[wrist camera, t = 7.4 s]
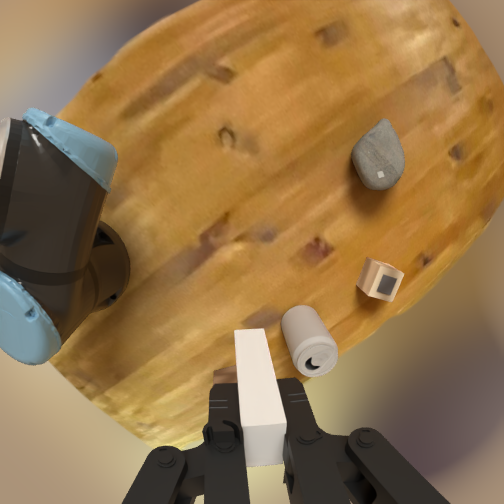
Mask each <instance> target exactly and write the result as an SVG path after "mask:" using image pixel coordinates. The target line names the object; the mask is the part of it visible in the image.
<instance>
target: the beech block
mask: <svg viewBox="0 0 504 504" xmlns="http://www.w3.org/2000/svg"><path fill="white" fill-rule="evenodd" d="M403 276H404V273H402V272H401V271H399V270H397V269H396V268H394V267H393V266H391V265H389V264H386V263H383V262H380V261H377V260H375V259H372V258H369V257H367V258H366V261H365V263H364V266H363V268H362V271H361V273H360V276H359V278H358V281H357V283H356V285H357V286H358V287H359V288H360V289H361V290H362V291H363V292H365V293H366V294H367V295H368V296H371V297H374V298H378V299H382V300H385V301H389V302H392V301H393V299H394V297H395V295H396V292H397V290H398V288H399V285H400V283H401V281H402V278H403Z"/></svg>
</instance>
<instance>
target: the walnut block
mask: <svg viewBox="0 0 504 504" xmlns="http://www.w3.org/2000/svg"><path fill="white" fill-rule="evenodd" d="M218 383H237V368H236V365H234V366H230V367H226V368H223V369H219V370H215V371H214V379H213V386H214V384H218Z"/></svg>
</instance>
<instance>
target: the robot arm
mask: <svg viewBox="0 0 504 504" xmlns="http://www.w3.org/2000/svg"><path fill="white" fill-rule="evenodd" d="M22 118H23V121H20V120H16V119H12V118H5V119H4V120H2V121H1V122H0V348H1V349H2V350H3V351H4V352H5V353H7V354H8V355H9V356H11V357H12V358H14V359H15V360H17V361H19V362H21V363H24V364H27V365H37V364H43V363H45V362H46V361H48V360H49V359H50V358H51V357H52V356H53V355H55V354H56V353H57V352H58V351H59V350H60V349H61V346H62V345H63V344H64V343H65V341H66V340H67V339H68V338H69V337H70V335H71V334H72V333H73V332H74V331H75V330H76V328H77V327H78V326H79V325H80V324H81V323H82V322H83V320H84V319H85V318H86V317H87V316H88V315H89V314H90V313H92V312H96V311H99V310H102V309H105V308H107V307H109V306H111V305H112V304H113V303H114V302H116V301H117V299H118V298H119V297H120V296H121V295H122V293H123V292H124V290H125V288H126V286H127V284H128V281H129V275H130V262H129V257H128V253H127V250H126V248H125V245H124V243H123V242H122V240H121V238H120V237H119V236H118V234H117V233H116V232H115V231H114V230H113V229H112V228H111V227H110V226H108V225H107V224H106V223H104V222H102V221H100V217H101V214H102V211H103V207H104V204H105V201H106V198H107V195H108V193H110V192H111V188H110V185H111V182H112V179H113V175H114V172H115V169H116V166H117V162H118V155H117V152H116V149H115V148H114V147H113V146H112V145H111V144H110V143H108V142H106V141H105V140H103V139H101V138H99V137H97V136H95V135H93V134H91V133H89V132H87V131H85V130H83V129H81V128H79V127H76V126H74V125H72V124H70V123H68V122H66V121H63V120H61V119H58V118H56V117H54V116H52V115H49V114H47V113H46V112H43V111H41V110H38V109H36V108H29V109H28V110H27V112H26V113H24V114H23V117H22ZM234 332H235V350H236V368H237V383H218V384H214V386H213V387H212V389H211V390H210V397H209V420H208V423H207V424H206V425H205V426H204V428H203V431H202V432H203V437H204V442H203V443H202V444H201V445H199V446H198V447H196V448H192V449H188V450H184V451H180V450H179V449H178V448H175V447H173V446H161V447H157V448H155V449H153V450H152V451H151V452H150V453H149V455H148V456H147V458H146V460H145V462H144V464H143V466H142V467H141V469H140V471H139V473H138V475H137V476H136V478H135V480H134V482H133V484H132V486H131V488H130V489H129V491H128V493H127V495H126V497H125V498H124V500H123V502H122V504H194V502H195V499H196V496H199V495H203V494H204V504H250V499H249V489H248V479H247V470H246V467H254V466H267V465H276V464H283V460H284V465H285V473H284V481H283V483H286V485H287V490H288V495H289V500H290V504H351V503H350V501H351V502H352V503H353V504H450V503H449V502H448V501H447V500H446V499H445V498H444V497H443V496H442V495H441V494H440V493H439V492H438V491H437V490H436V489H435V488H434V487H433V486H432V485H431V484H430V483H429V482H428V481H427V480H426V479H425V478H424V477H423V476H422V475H421V474H420V473H419V472H418V471H417V470H416V469H415V468H414V467H413V466H412V465H411V464H410V463H409V462H408V461H407V460H406V459H405V458H404V457H403V456H402V455H401V454H400V453H399V452H398V451H397V450H396V449H395V448H394V447H393V446H392V445H391V444H390V443H389V442H388V441H387V440H386V439H385V438H384V437H383V436H382V434H380V433H379V432H378V431H377V430H375V429H372V428H359V429H356V430H354V431H353V432H352V433H351V434H350V435H349V436H341V435H331V434H328V433H326V432H324V431H323V430H322V429H320V428H319V427H318V425H317V423H316V421H315V418H314V415H313V412H312V409H311V406H310V404H309V401H308V398H307V395H306V393H305V390H304V387H303V384H302V383H301V382H300V381H299V380H298V379H297V378H285V379H276V377H275V373H274V369H273V365H272V360H271V356H270V352H269V348H268V344H267V340H266V336H265V332H264V329H247V330H234ZM349 499H350V500H349Z"/></svg>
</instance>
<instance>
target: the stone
mask: <svg viewBox="0 0 504 504" xmlns="http://www.w3.org/2000/svg"><path fill="white" fill-rule="evenodd" d="M351 157H352V161H353V164H354V166H355V168H356V171H357V173H358V175H359V177H360V179H361V181H362V183H363V184H364V185H365V186H366V187H367V188H369V189H372V190H385V189H389V188H391V187H393V186H394V185H395V184H396V183H397V181H398V180H399V179H400V177H401V175H402V173H403V171H404V167H405V159H404V152H403V149H402V146H401V143H400V141H399V138H398V136H397V134H396V132H395V130H394V129H393V128H392V125H391V123H390V122H389V120H387V119H381V120H380V121H379V122H378V123H377V124H376V125H375V126H374V127H373V128H372V129H371V130H370V131H368V132H367V133H366V134H365V135H364V136H363V137H362V138H361V139H360V140H359V141H358V142H357V143H356V144H355V146H354V147H353V149H352V153H351Z"/></svg>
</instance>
